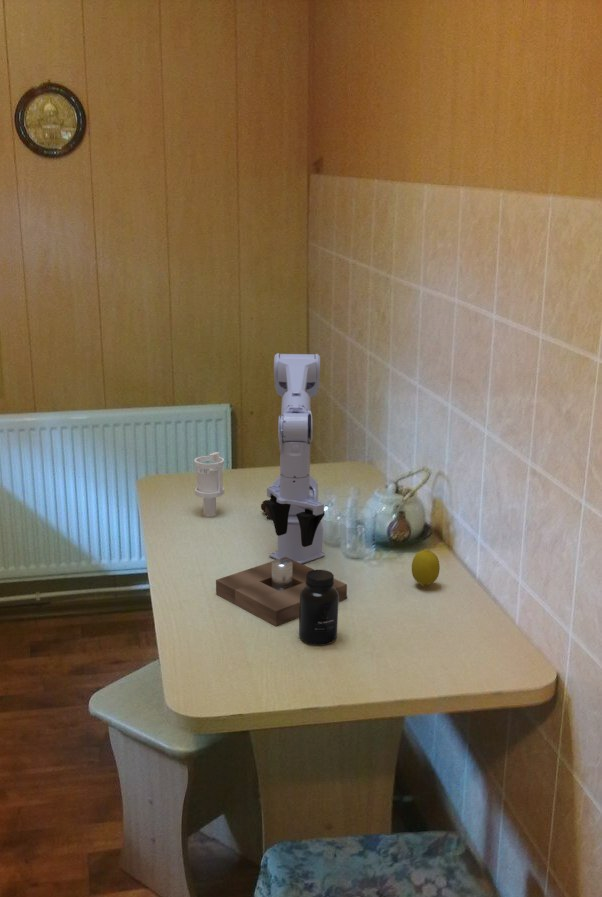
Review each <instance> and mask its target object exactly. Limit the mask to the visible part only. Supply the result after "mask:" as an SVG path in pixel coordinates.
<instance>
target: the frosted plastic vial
mask: <svg viewBox="0 0 602 897" xmlns="http://www.w3.org/2000/svg"><path fill="white" fill-rule="evenodd" d="M271 562H272V588H274V589H276V590H278V591H282V590H285V589H288V588H290V587H292V561H290V560H288V559H273V560H272V561H271Z"/></svg>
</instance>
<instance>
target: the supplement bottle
mask: <svg viewBox="0 0 602 897" xmlns="http://www.w3.org/2000/svg"><path fill="white" fill-rule="evenodd" d="M334 576H335V575H334V573H333V572H331V571H329V570H325V569H314V570H312V571H309V572H308V573H307V575H306V586H305V587H304V588H303V589H302V590H301V592H300V610H299V619H298V636H299V639H301V640H302V641H303V642H304V643H306V644H309V645H314V646H324V645H330V644H332V643H333V642H334V641H335V640H336V639H337V636H338V622H339V618H338V617H339V602H340V601H339V594H338V591H337V590H336V589H335V588H334V587H333V586H334V579H335V578H334Z"/></svg>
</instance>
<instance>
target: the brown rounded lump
mask: <svg viewBox="0 0 602 897" xmlns="http://www.w3.org/2000/svg"><path fill="white" fill-rule="evenodd" d="M269 500H270V499H266V500H263V501H262V503H261V505H260V509H261V511H263V512H264V513H265V515H266V517H267V518H268V519H269V520H271V521H273V520H272V517H271V514H270V512H269V510H268V508H267V507H266V505H265V502H266V501H269Z"/></svg>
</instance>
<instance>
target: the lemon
mask: <svg viewBox="0 0 602 897" xmlns="http://www.w3.org/2000/svg"><path fill="white" fill-rule="evenodd" d="M411 574H412V577H413V579H414V580H415V582H417V583H418V584H420V585H421V586H422V587H425V586H426V587H428V585H431V584H433V583H434V582H435V581H436V580H437V579H438V577H439V574H440V560H439V558H438V556H437V554H436V553H434V552H433V551H431V550H430V549H428V548H424V549H422V550H420V551H418V552H417V553H416V554H415V555H414V557H413V558H412V562H411Z"/></svg>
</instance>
